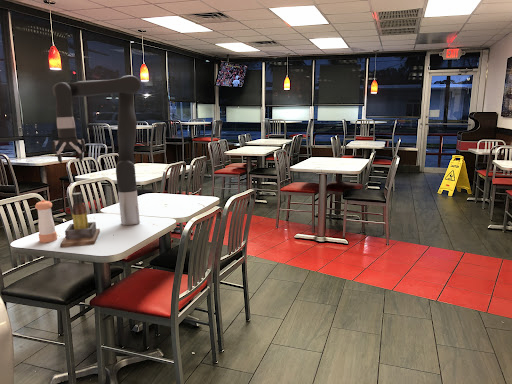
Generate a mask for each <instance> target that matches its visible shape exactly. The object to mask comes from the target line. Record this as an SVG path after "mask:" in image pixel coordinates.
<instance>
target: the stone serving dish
mask: <svg viewBox="0 0 512 384" xmlns="http://www.w3.org/2000/svg"><path fill="white" fill-rule="evenodd" d="M88 226H89V228H87V229H76V230H74V224H73V223H70V224H69V225H68V226H67V227H66V229H65V230H64V234H65V236H64V238H63V239H62V240H61V242H60V244H59V245H60V248H65V247H66V248H67V247H76V246H78V247H79V246H86V245H88V246H89V245H95V244H96V241H97V239H98V238H99V237H98V236H99V235H100V232H101V230H100V228H99V227H98V228H97V223H96V221H88Z"/></svg>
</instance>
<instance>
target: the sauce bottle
mask: <svg viewBox="0 0 512 384" xmlns="http://www.w3.org/2000/svg"><path fill="white" fill-rule="evenodd" d="M82 196H83V195H82V192H73V193H72V194H71V197H72V202H73V203H72V208H71V216H72V222H73V223H72V224H74V230H76V229H87V228H89V226H88V222H89V221H88V213H87V207H86V204H84V203H83V200H82V198H83V197H82Z"/></svg>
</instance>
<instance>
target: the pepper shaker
mask: <svg viewBox="0 0 512 384" xmlns="http://www.w3.org/2000/svg"><path fill="white" fill-rule="evenodd" d="M52 207H53V203H52V202H51V201H49V200H45V199H41V201H38V202H36V204H35V206H34V208H35V209H36V210H37V215H38V226H37V227H38V232H39V233H38V239H39V240H38V241H39V243H45V244H46V243H53V242H55V241H57V240H58V235H57V231H56V228H55V227H56V226H55V222H54V218H53V214H52Z"/></svg>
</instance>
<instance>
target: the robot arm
mask: <svg viewBox="0 0 512 384" xmlns="http://www.w3.org/2000/svg"><path fill="white" fill-rule="evenodd" d="M141 87H142V84H141V80H140V79H139V78H138V77H136V76H134V75H129V74H128V75H123V76H121V77H120V78H114V79H100V80H99V79H98V80H97V79H96V80H95V79H93V80H79V81H76V82H63V81H61V82H58V83H56V84H54V85H53V86H52V88H51V91H52V94H53V96H54V97H55V102H56V105H55V114H56V128H57V134H58V140H52V141H51V150H52V154H54V155H56V157H57V161H58V163H59V164H62V163H63V158H62V157H63V156H62V152H63V151H64V150H73V149H74V150H76V152H77V153H78V159H79V160H78V161H79V162H80V163H81V162H82V161H83V160H84V158H83V157H84V156H83V153H85V152H87V147H86V141H85V139H84V138H82V139H78V137H77V130H76V123H75V118H74V117H75V116H74V112H73V98H76V97H77V98H78V97H79V98H81V97H94V96H101V95H107V94H108V95H109V94H118V111H117V112H118V114H117V142H118V156H117V162H116V166H115V176H116V184H117V186H116V187H117V193H118V203H119V214H120V215H119V216H120V222H121V223H120V224H121V225H123V226H132V225H133V226H134V225H137V224H140V220H141V218H140V209H139V200H138V199H139V198H138V187H137V179H136V178H137V177H136V169H135V168H136V167H135V158H134V157H135V156H134V150H135V143H136V138H137V130H138V129H137V128H138V127H137V125H138V123H137V117H136V116H137V115H136V111H135V108H134V99H135V94H137V93H138V92H139V91H140V90H141ZM78 143H79V144H80V145H81V148H80V147H79V146H78ZM58 144H59V146H60V147H59V148H58V150H57V146H58Z"/></svg>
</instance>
